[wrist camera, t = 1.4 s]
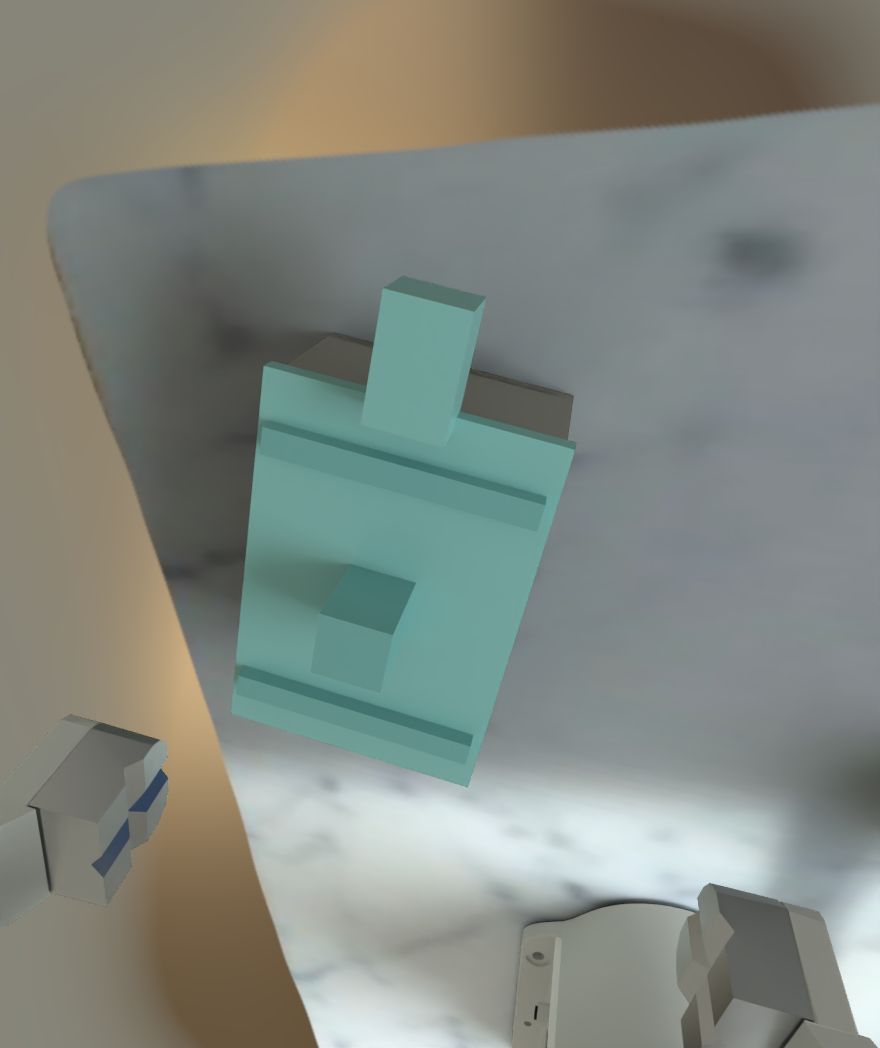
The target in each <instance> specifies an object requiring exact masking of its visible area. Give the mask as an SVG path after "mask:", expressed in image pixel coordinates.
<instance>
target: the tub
mask: <svg viewBox="0 0 880 1048" xmlns="http://www.w3.org/2000/svg"><path fill="white" fill-rule="evenodd" d="M373 345H374V343H371V342H368V341H364V340H360V339H356V338H352V337H349V336H345V335H341V334H337V333H332V334H331V335H329V336H328V337H326V338H325V339H323V340H322V341H320V342H319V343H317V344H316V345H314V346H313V347H311V348H310V349H308V350H307V351H305V352H304V353H302V354H301V355H299V356H298V357H296V358H295V359H293V360H292V361H290V362H289V363H287V364H286V365H290V366H293V367H297V368H301V369H304V370H308V371H312V372H316V373H319V374H323V375H327V376H330V377H334V378H338V379H342V380H345V381H349V382H353V383H357V384H360V385H364V386H367V382H368V376H369V370H370V364H371V358H372V352H373ZM573 398H574V396H572V395H568V394H565V393H561V392H557V391H553V390H549V389H546V388H542V387H538V386H534V385H530V384H527V383H523V382H519V381H515V380H512V379H508V378H504V377H500V376H496V375H493V374H489V373H485V372H481V371H477V370H474V369H470V371H469V375H468V379H467V384H466V388H465V392H464V397H463V401H462V405H461V410H460V411H461V412H464V413H468V414H472V415H475V416H479V417H483V418H487V419H490V420H494V421H498V422H501V423H505V424H509V425H513V426H516V427H520V428H524V429H527V430H531V431H535V432H539V433H542V434H546V435H550V436H553V437H557V438H561V439H565V440H568V433H569V426H570V419H571V412H572V405H573Z"/></svg>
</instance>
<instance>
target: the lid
mask: <svg viewBox="0 0 880 1048" xmlns="http://www.w3.org/2000/svg"><path fill="white" fill-rule="evenodd" d="M485 302H486V297H484V296H480V295H476V294H472V293H468V292H464V291H460V290H456V289H452V288H448V287H444V286H441V285H437V284H433V283H429V282H425V281H421V280H417V279H413V278H409V277H405V276H402V277H400V278H399V279H397V280H396V281H394V282H392V283H391V284H389V285H387V286H386V287H384V288H383V291H382V297H381V303H380V309H379V315H378V321H377V327H376V333H375V339H374V345H373V352H372V358H371V364H370V370H369V376H368V382H367V386H364V385H360V384H357V383H353V382H349V381H345V380H342V379H338V378H334V377H330V376H327V375H323V374H319V373H316V372H312V371H308V370H304V369H301V368H297V367H293V366H290V365H286V364H282V363H278V362H275V361H270V362H269V363H267V364H266V365H264V367H263V378H262V388H261V399H260V410H259V420H258V431H257V441H256V452H255V463H254V473H253V484H252V494H251V505H250V516H249V526H248V537H247V548H246V558H245V569H244V579H243V590H242V601H241V611H240V622H239V632H238V643H237V654H236V664H235V675H234V686H233V696H232V707H231V714H233V715H237V716H240V717H243V718H246V719H250V720H253V721H256V722H259V723H262V724H266V725H269V726H272V727H275V728H278V729H282V730H285V731H288V732H291V733H295V734H298V735H301V736H304V737H307V738H311V739H314V740H317V741H320V742H323V743H327V744H330V745H333V746H336V747H340V748H343V749H346V750H349V751H352V752H356V753H359V754H362V755H365V756H368V757H372V758H375V759H378V760H381V761H385V762H388V763H391V764H394V765H397V766H401V767H404V768H407V769H410V770H414V771H417V772H420V773H423V774H426V775H430V776H433V777H436V778H439V779H442V780H446V781H449V782H452V783H455V784H459V785H462V786H465V787H468V785H469V782H470V779H471V776H472V773H473V770H474V766H475V763H476V760H477V757H478V754H479V751H480V748H481V744H482V741H483V738H484V735H485V732H486V729H487V726H488V722H489V719H490V716H491V713H492V710H493V707H494V704H495V701H496V697H497V694H498V691H499V688H500V685H501V682H502V679H503V675H504V672H505V669H506V666H507V663H508V660H509V657H510V653H511V650H512V647H513V644H514V641H515V638H516V635H517V631H518V628H519V625H520V622H521V619H522V616H523V613H524V609H525V606H526V603H527V600H528V597H529V594H530V591H531V587H532V584H533V581H534V578H535V575H536V572H537V569H538V565H539V562H540V559H541V556H542V553H543V550H544V547H545V543H546V540H547V537H548V534H549V531H550V528H551V525H552V522H553V518H554V515H555V512H556V509H557V506H558V503H559V500H560V496H561V493H562V490H563V487H564V484H565V481H566V478H567V474H568V471H569V468H570V465H571V462H572V459H573V456H574V452H575V448H576V442H572V441H568V440H565V439H561V438H557V437H553V436H550V435H546V434H542V433H539V432H535V431H531V430H527V429H524V428H520V427H516V426H513V425H509V424H505V423H501V422H498V421H494V420H490V419H487V418H483V417H479V416H475V415H472V414H468V413H464V412H461V411H460V410H461V405H462V401H463V397H464V392H465V388H466V384H467V379H468V375H469V371H470V366H471V362H472V358H473V353H474V349H475V345H476V340H477V336H478V332H479V328H480V323H481V319H482V315H483V310H484V306H485Z"/></svg>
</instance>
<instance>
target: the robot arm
mask: <svg viewBox="0 0 880 1048" xmlns="http://www.w3.org/2000/svg"><path fill="white" fill-rule="evenodd" d="M167 758H168V756H167V744H166V742H165V741H162V740H159V739H155V738H152V737H149V736H145V735H142V734H138V733H135V732H132V731H128V730H125V729H121V728H117V727H115V726H111V725H108V724H104V723H101V722H97V721H93V720H90V719H86V718H82V717H79V716H75V715H71V714H70V715H68V716H67V717H65V718H63V719H61V720H60V721H58V722H57V723H56V724H55V725H54V727H53V728H52V729H51V730H50V731H49V732H48V733H47V734H46V735H45V737H44V738H43V739H42V740H41V741H40V742H39V743H38V744H37V745H36V747H35V748H34V749H33V750H32V751H31V752H30V753H29V754H28V755H27V757H26V758H25V759H24V760H23V761H22V762H21V763H20V765H18V767H17V768H16V769H15V770H14V771H13V772H12V773H11V774H10V776H9V777H8V778H7V779H6V780H5V781H4V782H3V783H2V785H0V931H1V930H2V929H3V928H5V927H6V926H8V925H9V924H11V923H12V922H14V921H15V920H17V919H18V918H20V917H21V916H22V915H24V914H25V913H27V912H28V911H30V910H31V909H33V908H34V907H36V906H37V905H39V904H40V903H41V902H43V901H44V900H46V899H47V898H49V896H50V893H52V894H56V895H60V896H64V897H68V898H72V899H76V900H80V901H84V902H88V903H92V904H96V905H100V906H104V907H107V905H108V904H109V902H110V900H111V899H112V897H113V896H114V894H115V892H116V891H117V889H118V888H119V886H120V884H121V883H122V881H123V880H124V878H125V877H126V875H127V874H128V872H129V870H130V869H131V867H132V862H131V850H132V849H134V848H136V847H138V846H139V845H141V844H143V843H144V842H146V841H148V840H149V838H150V836H151V835H152V833H153V831H154V830H155V828H156V826H157V825H158V823H159V820H160V817H161V815H162V812H163V810H164V807H165V805H166V800H167V795H168V777H167V776H166V775H165V773H164V772H163V771H162V769H161V767H162V765H163V764H164V762H165V761H166V759H167ZM698 906H699V912H698V913H694V912H691V911H687V910H684V909H680V908H675V907H670V906H664V905H656V904H621V905H614V906H608V907H604V908H600V909H596V910H593V911H590V912H588V913H585V914H583V915H580V916H578V917H576V918H573V919H570V920H566V921H558V922H543V923H536V924H531V925H529V926H527V927H525V928H524V930H523V933H522V942H521V952H520V963H519V973H518V983H517V993H516V1004H515V1014H514V1024H513V1035H512V1048H877V1046H876V1045H875V1044H874V1043H873V1041H872V1040H871V1039H870V1038H867V1037H864V1036H861V1035H858V1031H857V1028H856V1025H855V1021H854V1018H853V1014H852V1011H851V1008H850V1004H849V1001H848V998H847V994H846V991H845V987H844V984H843V981H842V977H841V974H840V970H839V967H838V964H837V960H836V957H835V954H834V950H833V947H832V943H831V940H830V937H829V933H828V930H827V927H826V923H825V920H824V918H823V917H822V916H821V914H820V913H819V912H818V911H815V910H811V909H807V908H804V907H800V906H796V905H792V904H788V903H784V902H779V901H778V900H776V899H772V898H768V897H764V896H760V895H756V894H752V893H748V892H744V891H740V890H736V889H732V888H728V887H724V886H720V885H716V884H712V883H709V884H708V885H706V886H704V887H703V889H702V891H701V892H700V894H699V896H698Z"/></svg>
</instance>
